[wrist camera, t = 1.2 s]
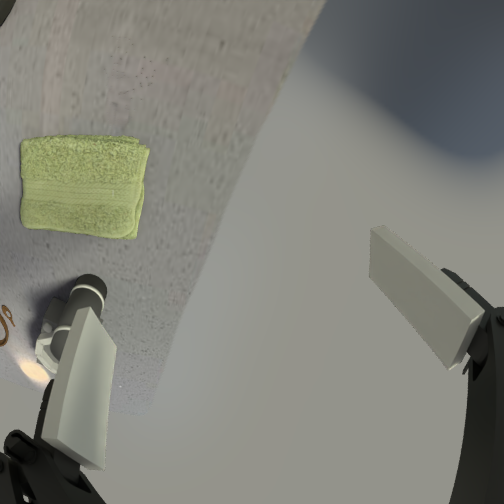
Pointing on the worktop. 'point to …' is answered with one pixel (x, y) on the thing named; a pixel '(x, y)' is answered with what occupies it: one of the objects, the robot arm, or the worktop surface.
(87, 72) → the worktop surface
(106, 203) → the washcloth
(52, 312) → the block with octagonal ring
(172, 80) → the worktop surface
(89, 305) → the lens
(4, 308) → the place setting
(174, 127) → the worktop surface
